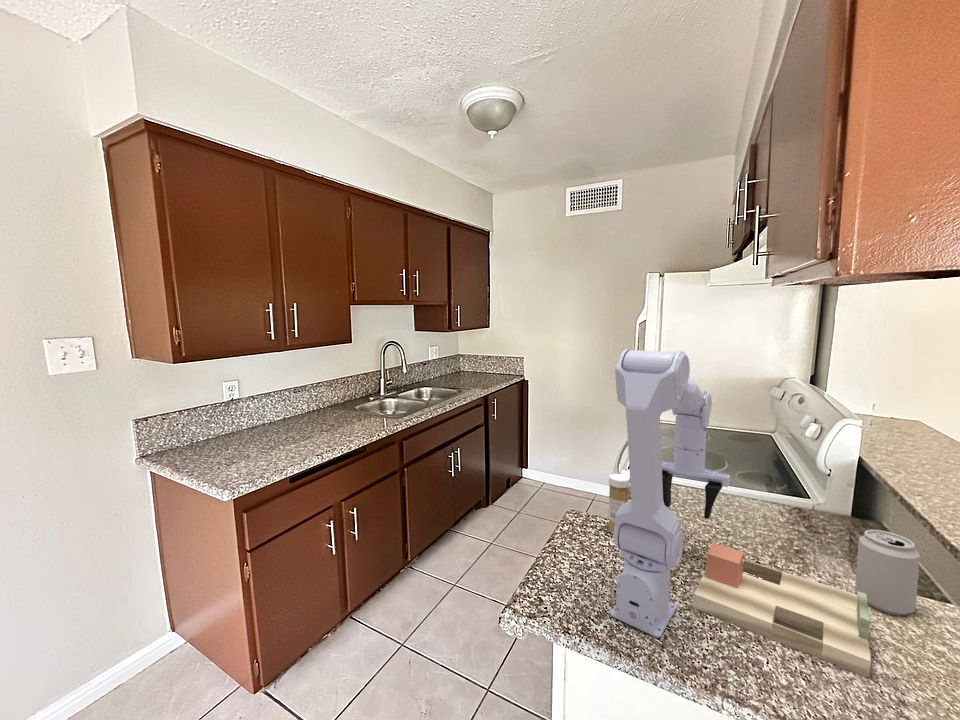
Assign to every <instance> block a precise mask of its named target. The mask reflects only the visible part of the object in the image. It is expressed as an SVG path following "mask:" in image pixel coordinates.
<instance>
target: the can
mask: <svg viewBox="0 0 960 720" xmlns="http://www.w3.org/2000/svg"><path fill="white" fill-rule="evenodd" d="M915 547H916V544H915V543H914V542H913V541H912V540H911V539H908V538H907V537H905V536H902V535H900V534H898V533H894V532H890V531H887V530H881V529H867V530H865V531H864V532H863V535H862V536H860V537H859V538H858V545H857V556H856V557H857V560H856V571H855V586H854V588H855V589H854V590H855V594H858V591H859V592H862V593H865V594H866V596H867V603H868V606H870V607H873V608H875V609H876V610H879V611H881V612H883V613H887V614H890V615H895V616H896V615H897V616H905V615H907V614H908V615H909V614H911V613H912V614H913V613H914V612H915V611H916V604H917V593H918V582H919V570H920V560H921V555H920V553H919V551H918V550H917V549H916V548H915Z"/></svg>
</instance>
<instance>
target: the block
mask: <svg viewBox="0 0 960 720" xmlns="http://www.w3.org/2000/svg"><path fill="white" fill-rule="evenodd" d="M744 553H745V552H744V551H741V550H738V549H735V548H732V547H728V546H724V545H721V544H719V543H715V542H712V544H711V545H710V547H709V549H708V550H707V552H706V558H705V559H706V561H705V562H706V563H705V571H706V578H709V579H712V580H715V581H717V582H720V583H723V584H726V585H729V586H732V587H734V588H737V589H738V586H739V584H740V581H741V578H742V573H743V559H744Z"/></svg>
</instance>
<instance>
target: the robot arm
mask: <svg viewBox="0 0 960 720" xmlns="http://www.w3.org/2000/svg"><path fill="white" fill-rule="evenodd" d="M690 368H691V366H690V359H689V357H688V355H687V354H686V353H685V351H683V350H678V351H666V350H665V351H662V350H661V351H660V350H659V351H658V350H639V349H638V350H637V349H636V350H635V349H634V350H633V349H631V348H626V349H624V350H623V351H622V352H621V353H620V354H619V356H618V358H617V362H616V366H615V368H614V369H615V370H614V371H615V372H614V373H615V387H616V389H615V390H616V395H617V396H616V397H617V401H618V402H619V403H620V404H621V405H622V406H623V407H625V414H626V415H625V417H626V433H627V434H626V435H627V447H628V448H627V449H628V466H629V467H628V468H629V478H630V486H629V487H630V498H631V499H630V500H628V502H626V503H624V504H623V505H622V506H621V507H620V508H619V510H618V511H617V513H616V515H615V527H614V533H613V535H612V536H613V537H612V538H613V542H614V545H615V547H616V548H617V549H618V550H620V557H622V558H623V569H622V571H621V574H620V575H619V577H618V578H617V581H616V592H615V593H616V594H615V605H614V606H613V608H611V610H610V611H609V615H610V616H611V617H612V618H615V619H617V620H619V621H621V622H623V623H626V624H628V625H630V627H631V626H632V627H634V628H636V629H638V630H640V631H643V632H645V633H647V634H648V635H651V636H653V637H655V638H661V637H662V635H663V633H664V631H665V630H666V627H667V625H668V624H669V623H670V621H671V619H672V617H673V615H674V613H675V612H676V610H677V604H675V603H673V602H670V588H671V586H670V585H671V582H670V581H671V569H674V568H676V567H677V566H678V565H679V563H680V562H681V559H682V556H683V555H682V554H683V549H684V534H683V533H682V528H681V527H682V526H681V522H680V518H679V517H678V515H676V514H675V513H674V512H673V511H672V510H671V509H670V508H669V507H670V506H671V503H672V484H673V483H672V481H673V475H674V476H680V477H685V478H688V479H693V480H698V481H702V482H707V483H706V484H705V487H704V492H705V503H704V504H705V506H704V512H703V513H704V514H703V515H704V517H703V518H704V519H707V520H708V519H710V517H711V514H712V510H713V506H714V505H715V501H716V499H717V498H718V495H719V493H720V492H721V490H722V488H723V487H725V488H728V487H729V486H730V480H731V475H730V474H727V473H723V472H718V471H716V470H712V469H709V468H705V467H706V449H707V448H706V447H707V446H706V445H707V444H706V443H707V428H708V427H709V424H710V417H711V416H710V415H711V413H712V407H713V406H712V404H713V401H712V395H711V394H710V393H708V392H707V391H706V390H701V389H700V387H699V386H698V384H697V383H696V381H695V380H694V379H693V378H692V377H691V376H690V372H691V371H690ZM670 410H671V411H672V415H673V416H675V426H674V448H673V449H674V450H673V461H672V462H671V461H663V459H662V439H661V438H662V435H661V433H662V432H661V416H662V413H665V412H667V411H670Z"/></svg>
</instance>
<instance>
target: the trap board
mask: <svg viewBox="0 0 960 720" xmlns="http://www.w3.org/2000/svg"><path fill="white" fill-rule="evenodd" d="M743 572H746V573H749V574H752V575H755V576H758V578H756V577H753V576H750V575H747V574H744V573H742V578H741V581H740V584H739V586H738V589H737V588H734V587H732V586H729V585H726V584H723V583H720V582H717V581H715V580H712V579H709V578H706V570H705V571H704V573H703V575H702V577H701V579H700V580H699V582H698V585H697V586H696V588H695V590H694V591H693V595H692V596H693V598H692V600H693V601H692V608H693V609H695V610H698V611H701V612H704V613H705V614H708V615H709V616H710V615H711V616H712V617H716V618H718V619H721V620H723V621H726V622H728V623H731V624H733V625H735V626H738V627H739V628H743V629H745V630H748V631H751V632H752V633H756V634H758V635H760V636H763V637H765V638H767V639H770V640H773V641H775V642H778V643H780V644H782V645H786V646H788V647H789V648H791V649H792V648H793V649H795V650H797V651H800V652H803V653H805V654H807V655H810V656H812V657H814V658H817V659H820V660H823V661H824V662H826V663H829V664H833V665H834V664H835V666H837V667H840V668H842V669H845V670H847V671H849V672H852V673H854V674H857V675H859V674H861V675H860V676H862V675H863V676H862V677H864V676H866V677H865V678H867V677H868V678H867V679H870V677H871V667H872V666H871V663H872V659H871V651H870V644H869V639H870V638H869V635H870V634H869V633H870V623H871V620H870V619H871V618H870V612H869V604H868V603H867V596H866V594H865V593H862V592H859V591H858V594H857V593H853V592H850V591H847V590H844V589H840V588H838V587H833V586H831V585H828V584H824V583H821V582H818V581H814V580H811V579H808V578H805V577H802V576H799V575H795V574H792V573H789V572H786V571H783V570H779V569H776V568H773V567H770V566H767V565H764V564H759V563H757V562H754V561H750V560H748V559H744V558H743ZM759 577H760V578H763V580H762V579H759Z"/></svg>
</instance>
